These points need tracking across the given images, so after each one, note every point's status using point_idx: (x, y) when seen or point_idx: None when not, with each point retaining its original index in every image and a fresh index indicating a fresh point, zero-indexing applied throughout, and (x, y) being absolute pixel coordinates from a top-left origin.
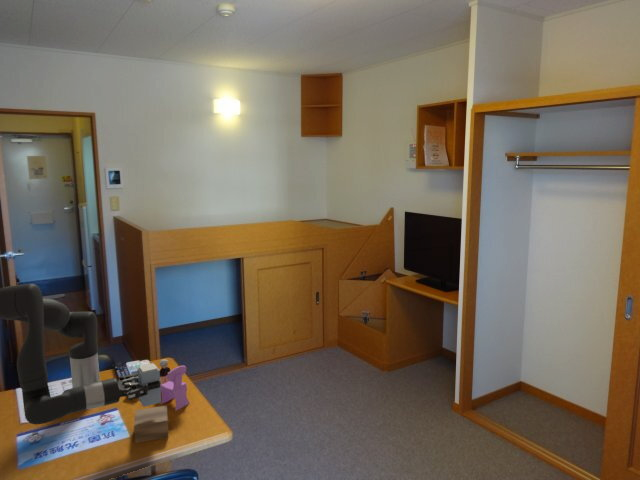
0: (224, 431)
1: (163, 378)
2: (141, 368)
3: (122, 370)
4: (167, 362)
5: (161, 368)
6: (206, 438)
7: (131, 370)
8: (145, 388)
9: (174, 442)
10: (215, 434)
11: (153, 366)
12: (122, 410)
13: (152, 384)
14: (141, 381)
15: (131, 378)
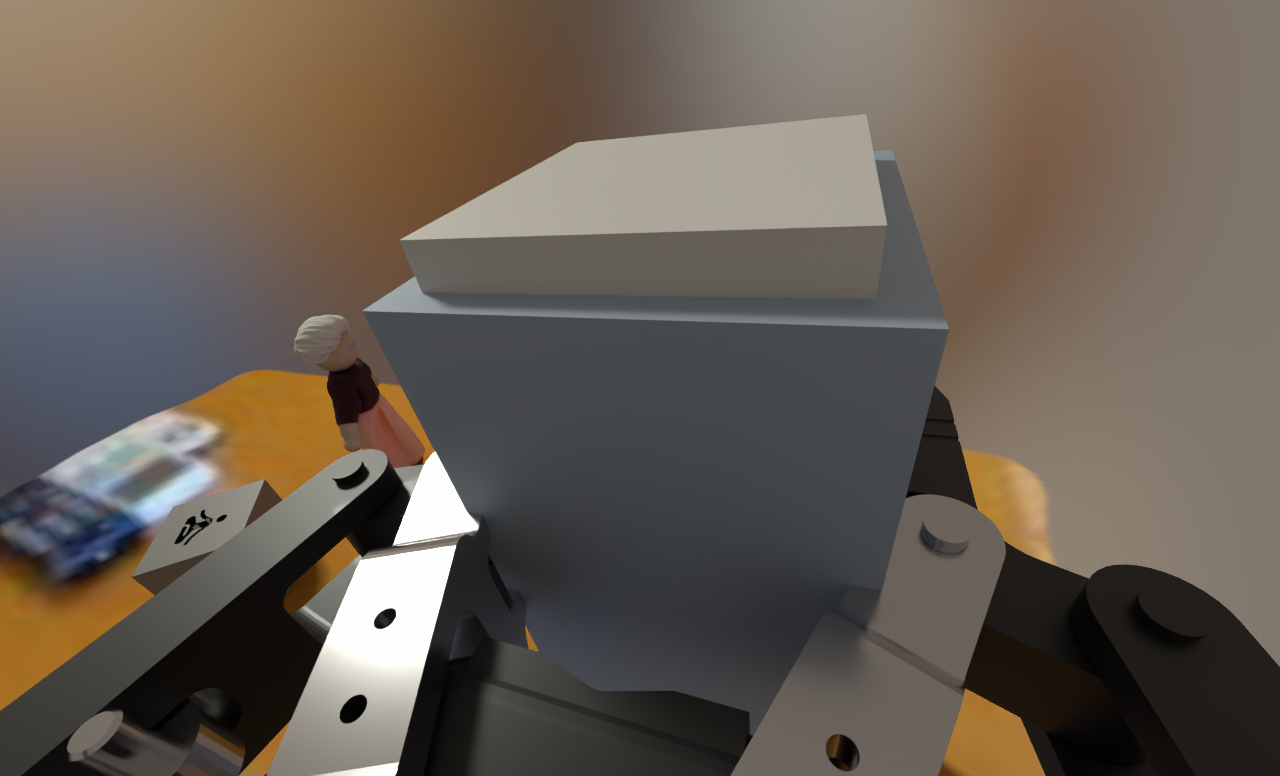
0: (998, 460)
1: (374, 419)
2: (587, 224)
3: (39, 513)
4: (348, 327)
5: (329, 375)
6: (1040, 550)
7: (100, 487)
8: (1237, 653)
9: (1003, 733)
10: (1011, 499)
11: (713, 139)
12: (267, 766)
13: (932, 452)
14: (812, 546)
15: (388, 647)
